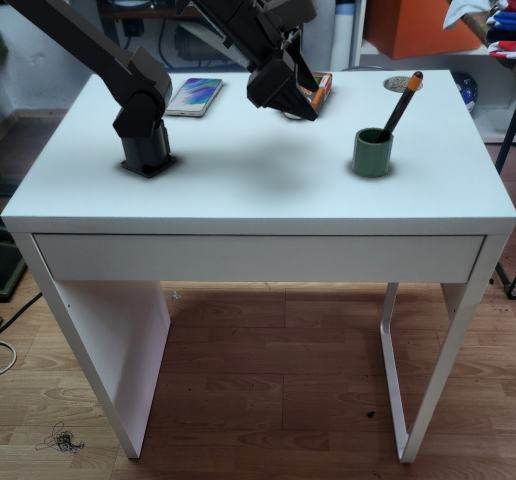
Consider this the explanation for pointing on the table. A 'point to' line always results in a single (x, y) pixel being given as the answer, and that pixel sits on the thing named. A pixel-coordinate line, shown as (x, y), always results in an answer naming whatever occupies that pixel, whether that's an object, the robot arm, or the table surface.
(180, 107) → the smartphone
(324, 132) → the table surface
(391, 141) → the pen cup
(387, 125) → the stylus
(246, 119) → the table surface
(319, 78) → the electronic device
